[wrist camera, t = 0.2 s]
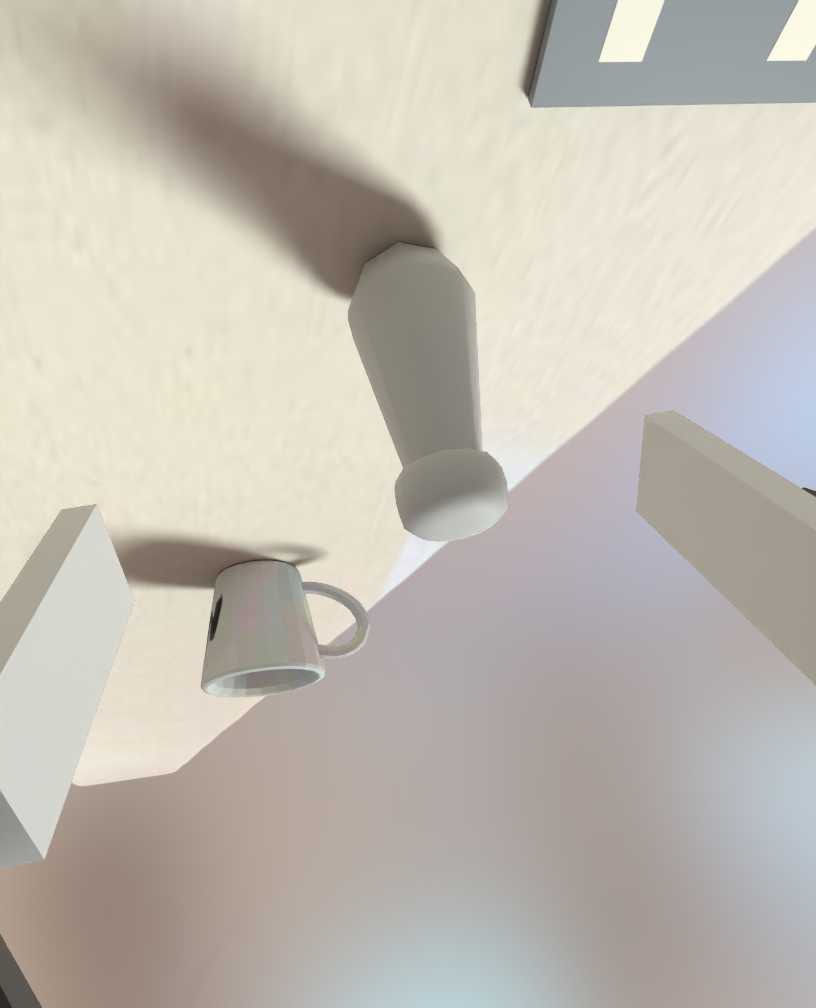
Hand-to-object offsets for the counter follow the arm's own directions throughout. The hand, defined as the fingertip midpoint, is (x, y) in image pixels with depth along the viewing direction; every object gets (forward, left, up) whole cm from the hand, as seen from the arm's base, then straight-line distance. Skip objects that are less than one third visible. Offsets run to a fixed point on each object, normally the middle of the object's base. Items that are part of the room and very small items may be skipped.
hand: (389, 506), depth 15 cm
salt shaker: (+7, +3, -16) cm, 18 cm away
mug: (+42, -6, -16) cm, 45 cm away
